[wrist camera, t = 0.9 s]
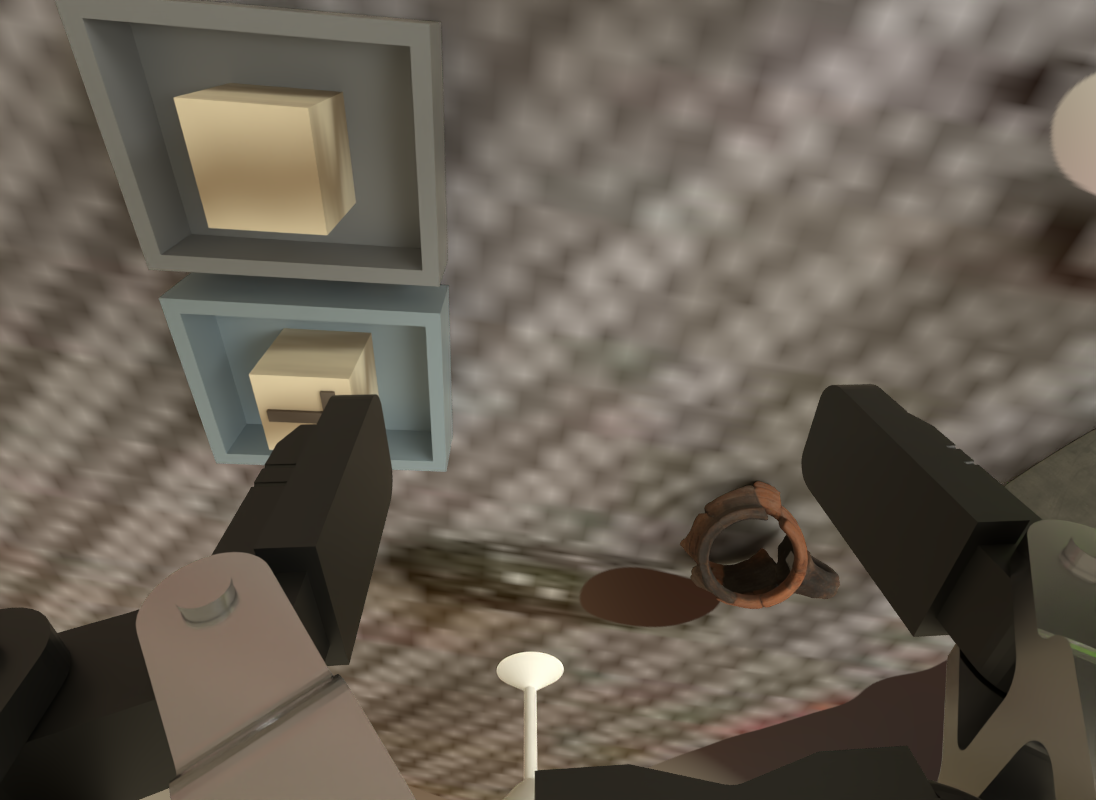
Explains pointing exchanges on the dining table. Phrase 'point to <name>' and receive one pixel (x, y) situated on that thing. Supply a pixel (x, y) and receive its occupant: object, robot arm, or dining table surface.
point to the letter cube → (309, 376)
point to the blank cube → (269, 157)
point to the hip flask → (1062, 484)
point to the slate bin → (276, 303)
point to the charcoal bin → (282, 61)
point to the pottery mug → (760, 574)
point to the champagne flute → (529, 706)
